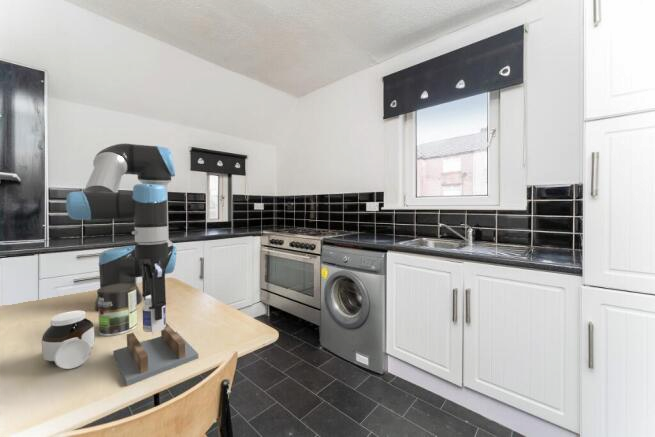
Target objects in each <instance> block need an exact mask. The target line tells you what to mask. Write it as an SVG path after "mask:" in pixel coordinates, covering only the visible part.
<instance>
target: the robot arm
mask: <svg viewBox="0 0 655 437" xmlns="http://www.w3.org/2000/svg"><path fill="white" fill-rule="evenodd" d="M92 162H93V164H92V165H93V170H92V172H91V174H90V177H89V178H88V181H87V183H86V185H85V187H84V189H83V191H82V190H79V191H70V192H69V193H68V194H67V196H66V202H65V203H66V204H65V208H66V212H67V215H68V216H69V218H70V219H72V220H76V221H77V220H78V221H80V220H81V221H91V220H92V221H95V220H96V221H99V220H133V221H134V224H133V227H134V228H133V229H134V230H132V231H131V234H132V235H134V242H135V243H136V244H135V245H126V246H125V245H124V246H118V247H114V248H113V247H112V248H110V249H105V250H104V251H102V252H101V253H99V255H98V268H99V269H98V270H99V272H98V273H99V289H100V288H102V287H104V286H108V285H112V284H119V283H134V284H136V285H137V278H141V279H142V280H141V281H142V282H141V284H142V287H141V288H142V293H141V291H140V289H139V287H138V285H137V287H136V302H137V305H139V304H141V303H142V300H144V301H145V297H146V296H148V295H151V301H152V307H149V310H150V309H151V332H150V333H152V334H154V333H157V332H161V330H164V315H163V306H165V307H166V306H167V298H166V275H168V274H172V273H173V272H174V271H175V267H176V263H177V253H178V250H177V249H178V248H177V246H174V244H173V241H172V240H170V239H169V234H170V233H169V204H168V202H169V200H168V199H169V198H168V197H169V196H168V185H169V184H170V183H171V182H172V178H173V177H174V178H175V176H176V173H175V172H176V171H175V166H174V159H173V154H172V151H171V149H170V148H168V147H163V146H158V145H146V144H145V145H144V144H134V143H117V144H114V145H110V146H108V147H105V148H103V149H102V150H100V151H98V152H97V153H96V155H95V157H94V159H93V161H92ZM124 175H135V176H137V180H138V182H140V183H137V184H135V185H133V187H132V192H119V189H120V186H121V185H120V184H121V181H122V177H123V176H124ZM142 298H143V299H142ZM94 303H95V304H94V308H95V310H96V311H97V312H99V309H98V296H96V299H95V302H94ZM145 304H146V303H145V302H144V305H145Z"/></svg>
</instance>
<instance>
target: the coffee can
mask: <svg viewBox="0 0 655 437" xmlns="http://www.w3.org/2000/svg"><path fill="white" fill-rule="evenodd" d="M136 284H137V283H136ZM136 284H134V283H119V284H112V285H108V286H104V287H102V288H100V287H99V288H98V289H97V290H96V291H97V297H98V309H99V311H98V329H99V332H98V334H99V335H100V336H102V337H103V336H104V337H114V336H118V335H123V334H128V333H129V332H131V331H133V330H135V329H136V328H137V327H138V312H137V310H138V309H137V308H138V306H137V305H138V304H137V302H136V287H138V285H136Z"/></svg>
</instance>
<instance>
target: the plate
mask: <svg viewBox="0 0 655 437" xmlns="http://www.w3.org/2000/svg"><path fill="white" fill-rule="evenodd" d="M175 332H176V333H177V335H178V336H179V337H180V338H181V339H182V340H183V341H184V342H185V357H183V358H181V359H179V358H178V357H177V356H176V355H175V353H174V352H173V351H172V350H171V349H170V347H169V346H168V345H167V344H166V342H165V341H164V340H163V339H162V338H161V335H160V336H157V337H153V338H151V339H147V340H145V341H142V342H140V341H139V342H140V344H141V345H142V347H143V348H144V350H145V352H146V353H147V355H148V371H146V372H143V373H140V371H139V369H138V367H137V365H136V363H135V362H134V360H133V358H132V356H131V354H130V352H129V350H128V349H127V346H125V347H121V348H118V349H115V350H112V352H113V353H112V354H113V357H114V360H115V362H116V365H117V367H118V369H119V371H120V374H121V376H122V379H123V381H124V383H125V385H126V387H129V386H131V385H133V384H136V383H139V382H141V381H143V380H146V379H148V378H151V377H154V376H156V375H159V374H161V373H164V372H167V371H169V370H172V369H174V368H176V367H179V366H182V365H185V364H188V363H189V362H192V361H195V360H197V359H199V353H198V352H197V351H196V349H195V348H193V347H192V345H190V344H189V343H188V341H187V340H185V338H184V337H182V335H181V334H180V333H179V332H178V331H175Z"/></svg>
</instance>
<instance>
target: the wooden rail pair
mask: <svg viewBox="0 0 655 437" xmlns="http://www.w3.org/2000/svg"><path fill="white" fill-rule="evenodd" d="M160 334H161V335H160V336H161V338H162V339H163V340H164V341H165V342H166V344H167V345H168V346H169V347H170V349H171V350H172V351H173V352H174V353H175V355H176V356H177V357H178V358H179V359H181V358H183V357H185V342H184V341H183V340H182V339H181V338H180V337H179V336H178V335H177V333H176V331H175V330H174V329H173V328H172V327H171V326H170V324H168V323H167V322H166V326H165V327H164V330H161V331H160ZM126 347H127V349H128V350H129V352H130V354H131V356H132V358H133V360H134V362H135V363H136V365H137V367H138V369H139V371H140V373H143V372H146V371H148V355H147V353H146V352H145V350H144V348H143V347H142V345H141V344H140V341H139V340H138V338H137V336H136V335H135V333H134V332H131V333H126Z"/></svg>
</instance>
